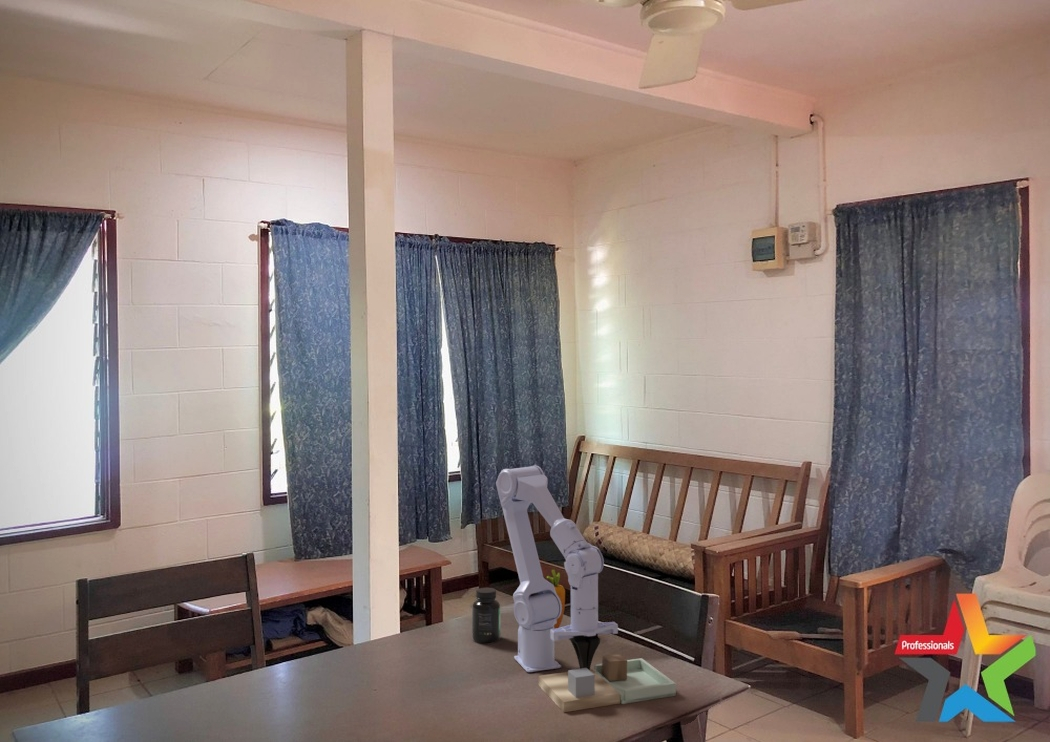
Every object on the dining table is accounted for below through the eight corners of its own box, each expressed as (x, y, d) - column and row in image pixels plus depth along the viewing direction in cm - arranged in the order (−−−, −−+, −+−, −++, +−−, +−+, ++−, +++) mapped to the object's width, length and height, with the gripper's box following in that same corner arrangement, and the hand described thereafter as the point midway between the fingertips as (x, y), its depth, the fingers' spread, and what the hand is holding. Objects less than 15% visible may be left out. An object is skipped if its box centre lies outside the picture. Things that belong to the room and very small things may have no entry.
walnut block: (602, 655, 181) (619, 654, 182) (602, 674, 180) (619, 673, 182) (609, 661, 177) (627, 660, 178) (609, 680, 177) (626, 679, 178)
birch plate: (538, 685, 177) (538, 675, 177) (591, 677, 181) (591, 668, 181) (563, 712, 164) (563, 702, 164) (619, 703, 168) (619, 693, 168)
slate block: (568, 690, 169) (568, 670, 169) (586, 687, 171) (586, 667, 170) (575, 697, 165) (575, 677, 165) (594, 695, 167) (594, 674, 167)
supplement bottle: (506, 638, 206) (506, 589, 205) (486, 646, 201) (486, 596, 200) (486, 632, 210) (485, 584, 210) (466, 639, 205) (466, 590, 205)
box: (591, 676, 181) (591, 665, 181) (641, 669, 185) (641, 658, 185) (622, 704, 167) (622, 691, 167) (675, 695, 171) (675, 683, 171)
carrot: (563, 634, 208) (563, 574, 208) (544, 633, 209) (543, 573, 209) (566, 628, 213) (566, 568, 213) (547, 626, 214) (547, 568, 214)
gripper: (558, 615, 170) (559, 682, 171) (624, 607, 175) (624, 672, 175) (546, 605, 177) (547, 669, 177) (609, 598, 182) (610, 661, 182)
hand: (584, 670), depth 177 cm, fingers closed
